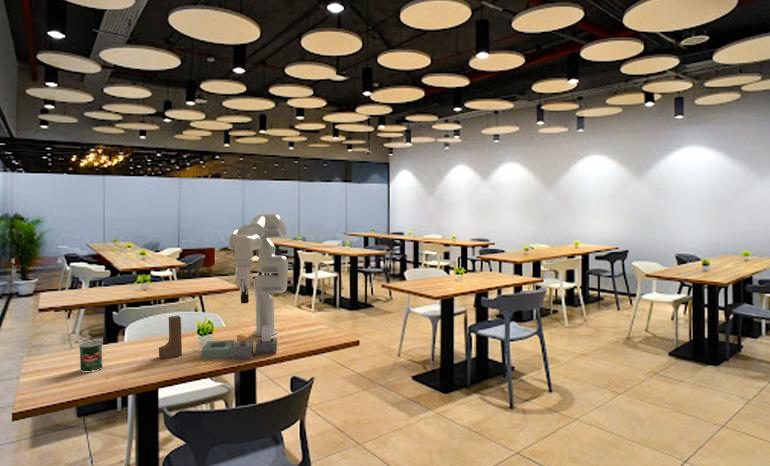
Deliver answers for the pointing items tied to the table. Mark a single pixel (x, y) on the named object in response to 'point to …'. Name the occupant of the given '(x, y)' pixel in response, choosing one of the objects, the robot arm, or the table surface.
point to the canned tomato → (91, 356)
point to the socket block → (266, 347)
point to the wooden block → (172, 339)
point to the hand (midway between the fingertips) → (244, 302)
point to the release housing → (243, 351)
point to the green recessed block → (217, 349)
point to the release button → (243, 338)
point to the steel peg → (266, 334)
